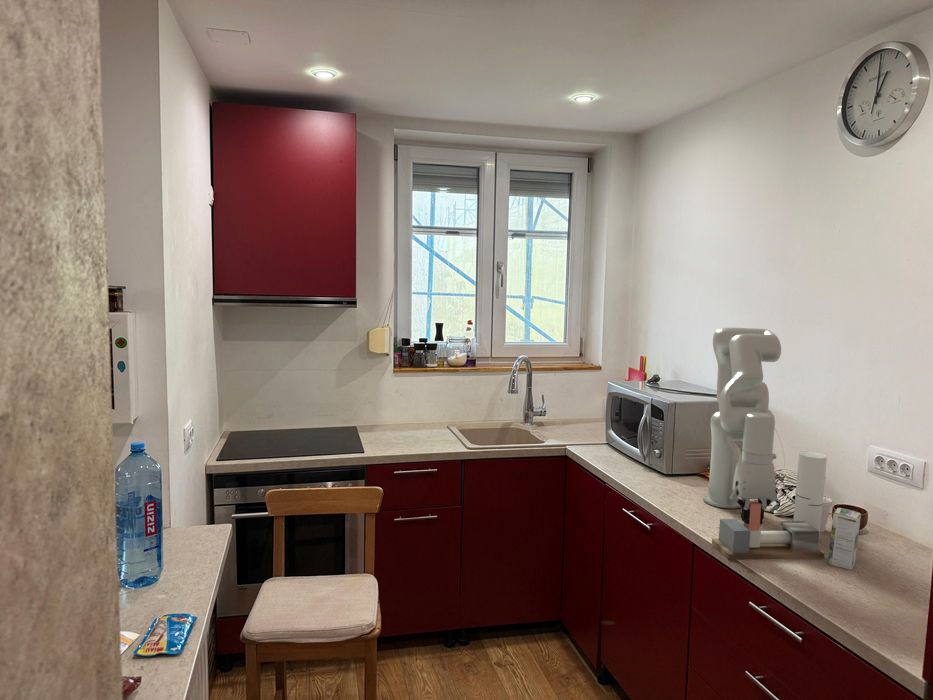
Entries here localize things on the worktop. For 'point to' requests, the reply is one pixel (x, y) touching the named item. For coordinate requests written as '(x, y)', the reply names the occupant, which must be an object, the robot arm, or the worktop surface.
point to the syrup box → (844, 538)
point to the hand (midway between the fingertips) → (751, 521)
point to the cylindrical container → (810, 488)
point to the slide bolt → (763, 536)
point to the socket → (734, 535)
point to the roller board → (782, 545)
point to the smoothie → (825, 512)
